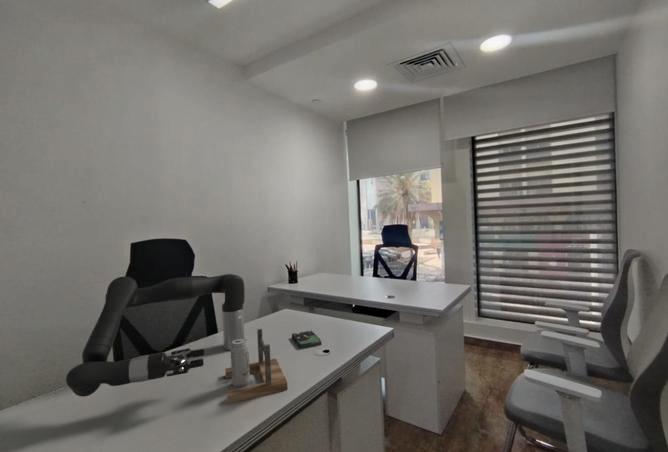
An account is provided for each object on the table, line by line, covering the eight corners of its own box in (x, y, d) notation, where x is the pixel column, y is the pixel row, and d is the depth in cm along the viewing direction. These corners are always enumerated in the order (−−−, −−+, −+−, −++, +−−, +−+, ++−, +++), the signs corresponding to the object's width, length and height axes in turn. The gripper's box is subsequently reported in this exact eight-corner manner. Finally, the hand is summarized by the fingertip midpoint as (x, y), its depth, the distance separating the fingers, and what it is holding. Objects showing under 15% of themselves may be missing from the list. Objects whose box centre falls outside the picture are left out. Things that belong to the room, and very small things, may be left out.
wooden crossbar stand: (225, 375, 116) (223, 334, 116) (276, 364, 123) (274, 325, 123) (228, 403, 97) (225, 354, 97) (287, 389, 104) (285, 343, 104)
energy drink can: (248, 387, 106) (246, 344, 105) (230, 389, 105) (228, 345, 105) (251, 378, 112) (249, 337, 111) (234, 379, 111) (232, 338, 111)
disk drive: (291, 339, 150) (300, 350, 137) (291, 333, 150) (300, 344, 137) (311, 335, 154) (322, 345, 141) (311, 330, 154) (321, 339, 141)
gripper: (153, 369, 105) (204, 359, 111) (144, 390, 91) (203, 377, 97) (151, 347, 104) (203, 338, 110) (142, 365, 91) (202, 354, 97)
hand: (203, 356), depth 104 cm, fingers open, 8 cm apart
